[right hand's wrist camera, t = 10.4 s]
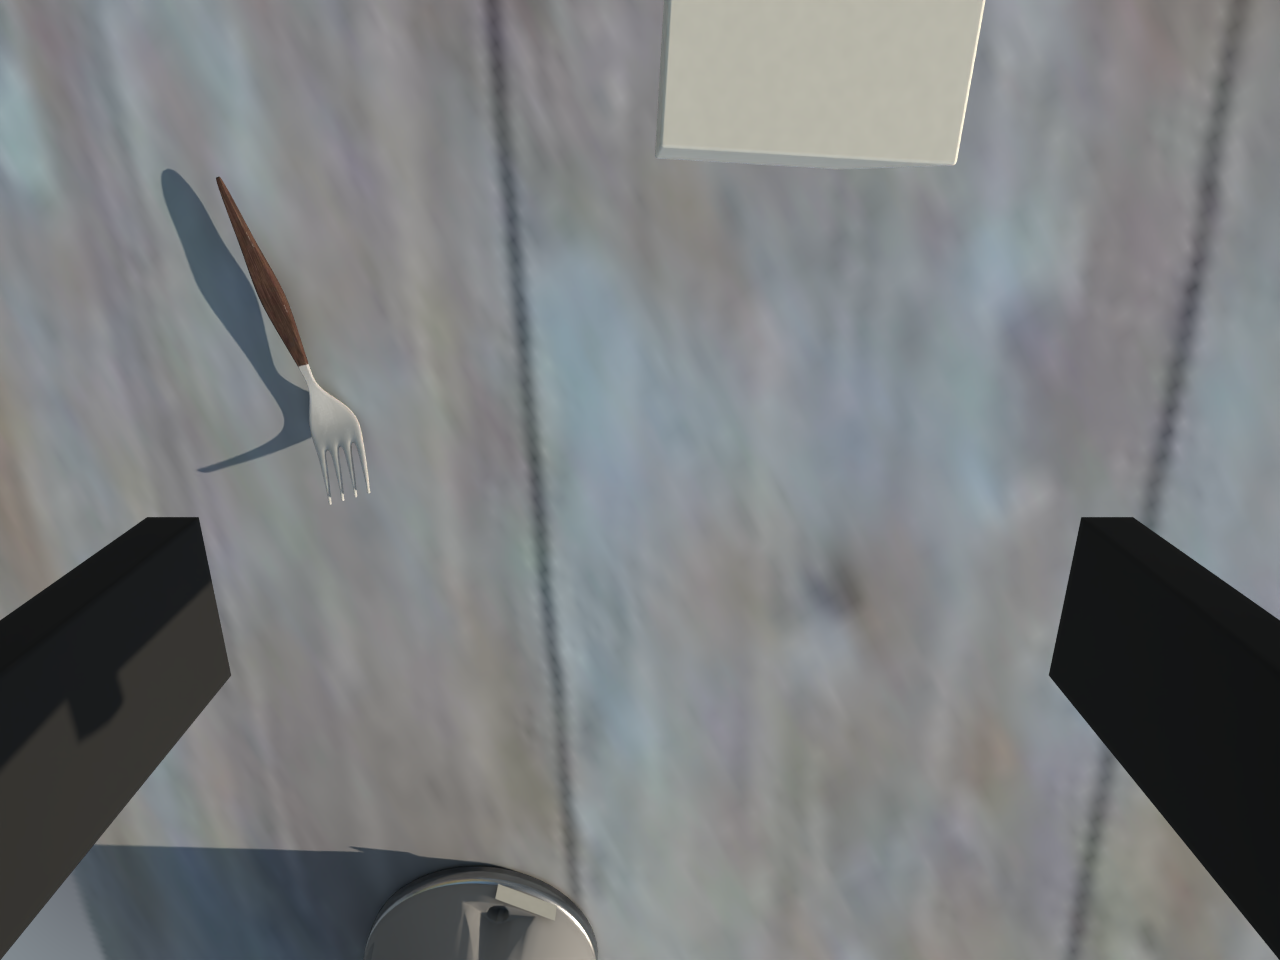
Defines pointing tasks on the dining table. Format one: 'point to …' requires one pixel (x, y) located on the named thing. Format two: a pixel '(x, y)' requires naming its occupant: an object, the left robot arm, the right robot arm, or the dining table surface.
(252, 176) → the dining table surface
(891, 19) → the box
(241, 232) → the fork
